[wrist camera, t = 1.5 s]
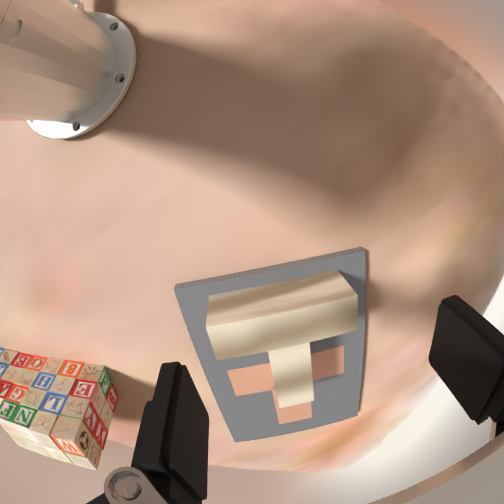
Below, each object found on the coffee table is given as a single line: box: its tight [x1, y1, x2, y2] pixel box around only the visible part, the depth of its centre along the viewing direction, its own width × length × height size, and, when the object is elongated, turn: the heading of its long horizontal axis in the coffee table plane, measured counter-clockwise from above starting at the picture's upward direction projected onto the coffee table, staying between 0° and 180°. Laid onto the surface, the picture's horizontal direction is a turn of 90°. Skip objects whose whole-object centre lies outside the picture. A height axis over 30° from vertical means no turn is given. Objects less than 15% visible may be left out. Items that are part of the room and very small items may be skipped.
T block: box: [206, 270, 358, 408], centre depth 26 cm, size 12×12×5 cm
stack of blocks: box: [0, 348, 118, 470], centre depth 25 cm, size 21×6×12 cm, turn 90°
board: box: [174, 247, 366, 442], centre depth 31 cm, size 26×18×1 cm
